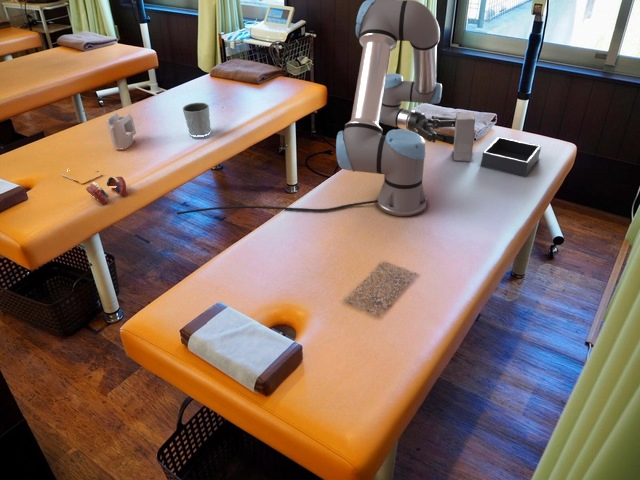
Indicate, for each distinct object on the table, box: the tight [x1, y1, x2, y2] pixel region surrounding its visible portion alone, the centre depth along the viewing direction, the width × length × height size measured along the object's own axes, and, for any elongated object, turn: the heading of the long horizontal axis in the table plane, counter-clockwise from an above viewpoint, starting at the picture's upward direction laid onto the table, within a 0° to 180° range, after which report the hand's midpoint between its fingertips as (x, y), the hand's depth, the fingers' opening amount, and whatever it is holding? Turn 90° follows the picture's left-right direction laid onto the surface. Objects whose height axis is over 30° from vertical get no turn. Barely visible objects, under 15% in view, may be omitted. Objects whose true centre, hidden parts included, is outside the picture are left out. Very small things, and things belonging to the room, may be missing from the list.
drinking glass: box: [182, 102, 212, 140], centre depth 214 cm, size 10×10×12 cm
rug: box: [344, 260, 417, 317], centre depth 134 cm, size 10×20×1 cm, turn 145°
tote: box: [480, 136, 542, 178], centre depth 189 cm, size 16×16×5 cm
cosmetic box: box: [453, 111, 476, 162], centre depth 191 cm, size 8×7×16 cm
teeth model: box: [85, 176, 127, 205], centre depth 176 cm, size 8×6×12 cm
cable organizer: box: [106, 112, 137, 151], centre depth 208 cm, size 7×12×12 cm, turn 169°
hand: (462, 134), depth 191 cm, fingers open, 13 cm apart
